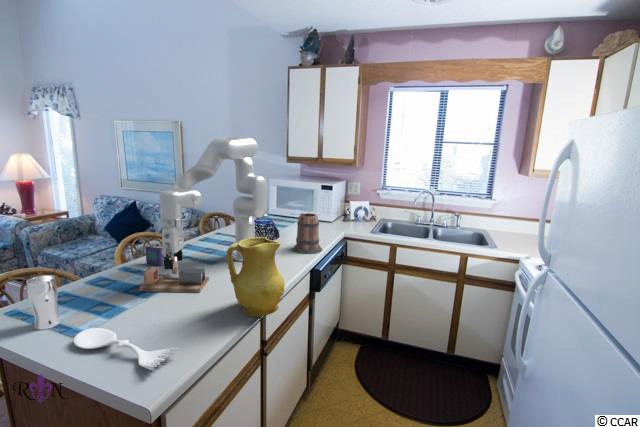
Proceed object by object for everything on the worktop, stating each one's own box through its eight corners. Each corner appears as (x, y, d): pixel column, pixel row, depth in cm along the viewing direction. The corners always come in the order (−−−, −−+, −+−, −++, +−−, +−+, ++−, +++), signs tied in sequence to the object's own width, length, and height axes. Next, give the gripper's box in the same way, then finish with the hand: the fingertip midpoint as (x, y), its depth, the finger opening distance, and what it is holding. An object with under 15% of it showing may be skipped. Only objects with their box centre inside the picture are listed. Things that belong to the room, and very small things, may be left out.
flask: (165, 264, 153) (163, 242, 151) (160, 266, 151) (159, 244, 149) (149, 262, 156) (147, 240, 154) (144, 264, 153) (142, 242, 151)
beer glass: (43, 318, 104) (37, 274, 101) (66, 318, 105) (61, 274, 102) (26, 331, 97) (18, 284, 94) (51, 330, 98) (44, 284, 95)
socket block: (158, 279, 133) (158, 267, 132) (153, 284, 129) (152, 272, 128) (150, 279, 133) (149, 267, 132) (144, 284, 128) (143, 272, 127)
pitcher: (262, 325, 104) (260, 249, 100) (222, 311, 114) (219, 241, 110) (294, 305, 118) (294, 238, 115) (256, 294, 128) (254, 232, 125)
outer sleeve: (205, 279, 134) (204, 268, 133) (201, 284, 129) (200, 273, 128) (184, 279, 134) (183, 268, 133) (179, 284, 129) (178, 272, 128)
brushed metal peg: (203, 278, 133) (202, 256, 131) (200, 281, 130) (199, 258, 128) (166, 278, 132) (164, 255, 131) (163, 280, 130) (161, 258, 128)
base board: (209, 279, 138) (208, 276, 138) (200, 292, 126) (199, 288, 126) (153, 279, 137) (153, 275, 137) (139, 291, 125) (138, 287, 125)
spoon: (152, 379, 80) (151, 367, 79) (66, 347, 91) (64, 336, 90) (180, 358, 88) (179, 346, 87) (98, 331, 99) (96, 320, 98)
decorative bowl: (285, 236, 209) (286, 214, 206) (264, 243, 193) (264, 219, 190) (262, 231, 220) (262, 210, 217) (240, 237, 203) (240, 214, 200)
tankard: (316, 256, 173) (317, 219, 169) (287, 251, 178) (288, 216, 174) (329, 244, 195) (330, 211, 191) (303, 240, 200) (304, 208, 196)
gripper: (172, 228, 118) (174, 272, 121) (189, 218, 135) (190, 257, 138) (151, 227, 118) (154, 272, 121) (170, 217, 135) (172, 257, 138)
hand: (173, 264), depth 130 cm, fingers open, 9 cm apart
